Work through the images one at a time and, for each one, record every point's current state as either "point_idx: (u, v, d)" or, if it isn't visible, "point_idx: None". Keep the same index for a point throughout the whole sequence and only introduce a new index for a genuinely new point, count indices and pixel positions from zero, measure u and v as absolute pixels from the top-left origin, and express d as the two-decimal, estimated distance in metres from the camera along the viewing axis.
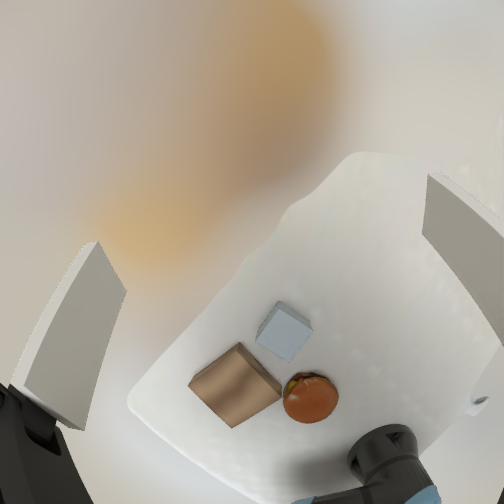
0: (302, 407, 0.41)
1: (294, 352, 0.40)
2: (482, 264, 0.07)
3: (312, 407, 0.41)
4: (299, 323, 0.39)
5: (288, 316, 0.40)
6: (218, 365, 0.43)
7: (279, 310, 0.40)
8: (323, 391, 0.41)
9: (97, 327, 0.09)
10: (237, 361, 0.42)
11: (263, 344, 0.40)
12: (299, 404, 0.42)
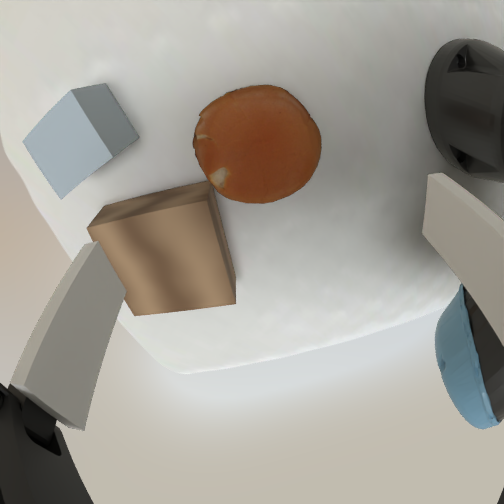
0: (254, 171, 0.20)
1: (96, 139, 0.16)
2: (482, 264, 0.07)
3: (266, 152, 0.19)
4: (50, 112, 0.14)
5: (35, 129, 0.15)
6: None
7: (25, 141, 0.15)
8: (238, 111, 0.17)
9: (97, 327, 0.09)
10: (105, 235, 0.22)
11: (67, 188, 0.18)
12: (243, 173, 0.20)
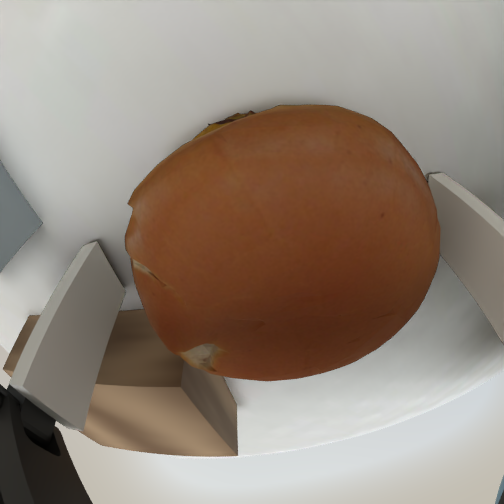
0: (285, 350, 0.08)
1: None
2: (483, 264, 0.07)
3: (320, 317, 0.07)
4: None
5: None
6: None
7: None
8: (244, 209, 0.05)
9: (96, 328, 0.09)
10: None
11: None
12: (256, 351, 0.08)
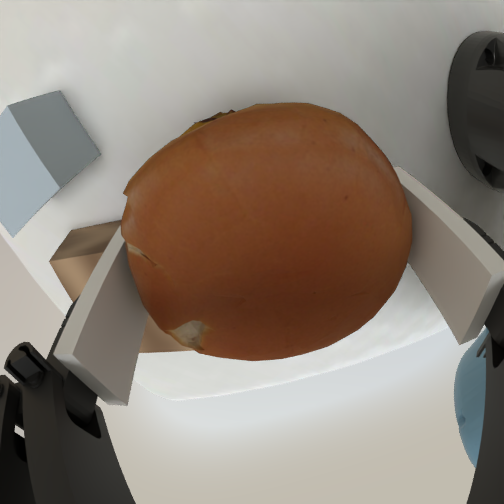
0: (266, 327, 0.09)
1: (39, 166, 0.11)
2: (431, 254, 0.08)
3: (296, 294, 0.08)
4: None
5: None
6: (74, 300, 0.19)
7: None
8: (222, 194, 0.06)
9: (138, 301, 0.10)
10: (70, 270, 0.17)
11: (17, 225, 0.13)
12: (240, 329, 0.09)
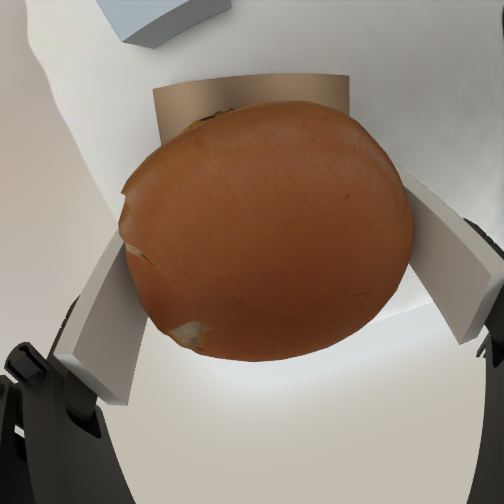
0: (265, 328, 0.09)
1: None
2: (431, 254, 0.08)
3: (297, 295, 0.08)
4: None
5: None
6: None
7: None
8: (220, 192, 0.06)
9: (138, 301, 0.10)
10: (181, 102, 0.14)
11: (139, 23, 0.10)
12: (240, 329, 0.09)
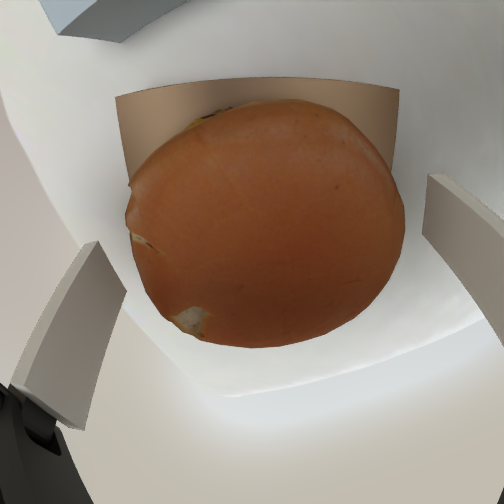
0: (263, 313, 0.09)
1: None
2: (482, 264, 0.07)
3: (292, 280, 0.08)
4: None
5: None
6: None
7: None
8: (220, 184, 0.06)
9: (97, 327, 0.09)
10: (156, 116, 0.09)
11: (81, 5, 0.05)
12: (239, 315, 0.09)
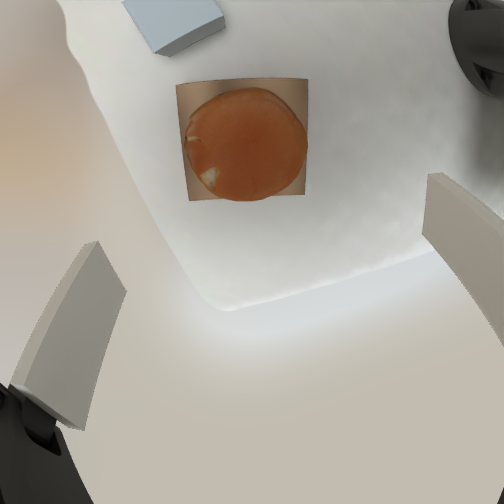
0: (243, 170, 0.21)
1: (209, 0, 0.14)
2: (482, 264, 0.07)
3: (253, 152, 0.20)
4: None
5: None
6: (182, 128, 0.22)
7: (124, 2, 0.14)
8: (226, 113, 0.18)
9: (97, 327, 0.09)
10: (194, 95, 0.21)
11: (165, 41, 0.16)
12: (232, 172, 0.21)
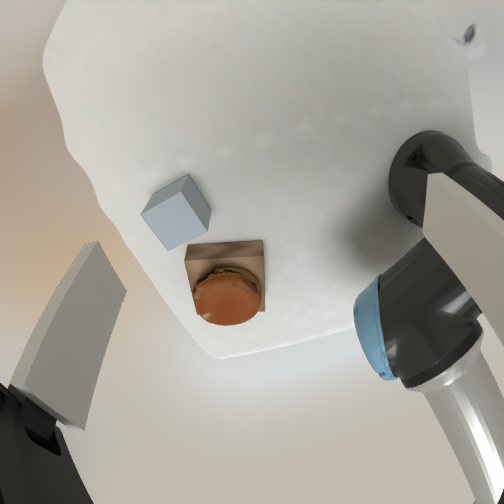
0: (224, 315, 0.39)
1: (197, 221, 0.33)
2: (482, 264, 0.07)
3: (230, 309, 0.38)
4: (165, 202, 0.32)
5: (152, 209, 0.32)
6: (190, 282, 0.41)
7: (142, 215, 0.32)
8: (216, 292, 0.37)
9: (97, 327, 0.09)
10: (196, 266, 0.40)
11: (174, 245, 0.35)
12: (218, 315, 0.39)
